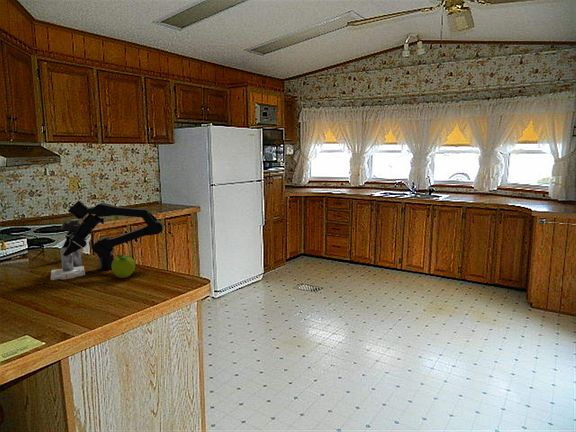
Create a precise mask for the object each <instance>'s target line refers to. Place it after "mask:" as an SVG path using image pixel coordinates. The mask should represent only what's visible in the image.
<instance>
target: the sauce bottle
mask: <svg viewBox="0 0 576 432" xmlns="http://www.w3.org/2000/svg"><path fill="white" fill-rule="evenodd" d="M69 222H71V223H74V225H78V224H79V223H80V219H77V218H76V219H75V218H74V219H70V220H69ZM81 247H82V246H81ZM80 252H81V258H83V257H84V248H83V247H82V249H80Z"/></svg>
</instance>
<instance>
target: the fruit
mask: <svg viewBox="0 0 576 432" xmlns="http://www.w3.org/2000/svg"><path fill="white" fill-rule="evenodd" d="M111 267H112V269H111V271H112V273H113V274H114V275H115V276H116V277H118V278H120V279H121V278H122V279H126V278H129V277H130V276H131V275H133V273H134V271H135V269H136V261H135V260H134V258H133V257H132V256H130V255H129V256H128V255H125V256H124V255H123V253H122V254H116V255H115V258H114V260H113V262H112V265H111Z"/></svg>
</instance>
